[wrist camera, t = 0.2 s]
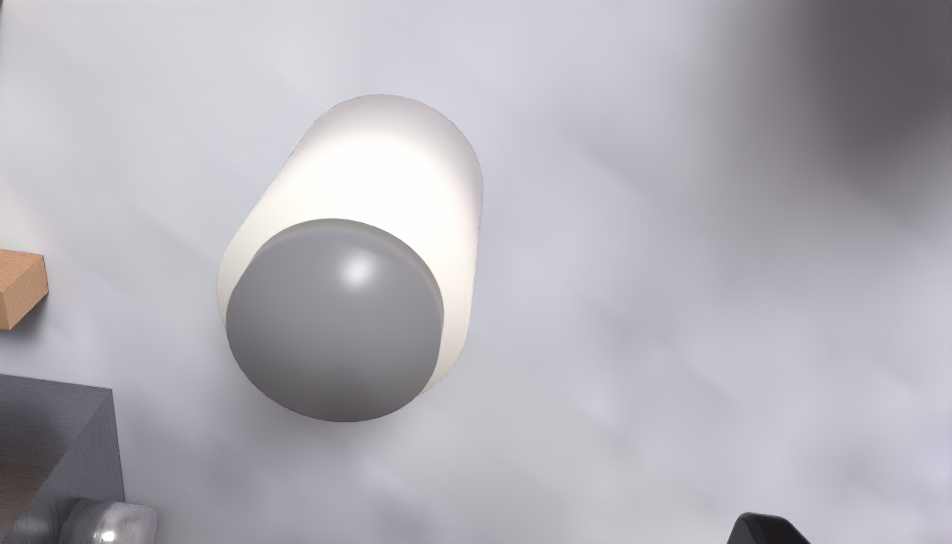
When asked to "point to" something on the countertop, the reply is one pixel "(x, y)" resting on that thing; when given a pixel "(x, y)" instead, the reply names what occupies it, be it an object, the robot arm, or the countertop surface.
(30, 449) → the grey angular piece
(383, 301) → the white rounded cylinder
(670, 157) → the countertop surface
